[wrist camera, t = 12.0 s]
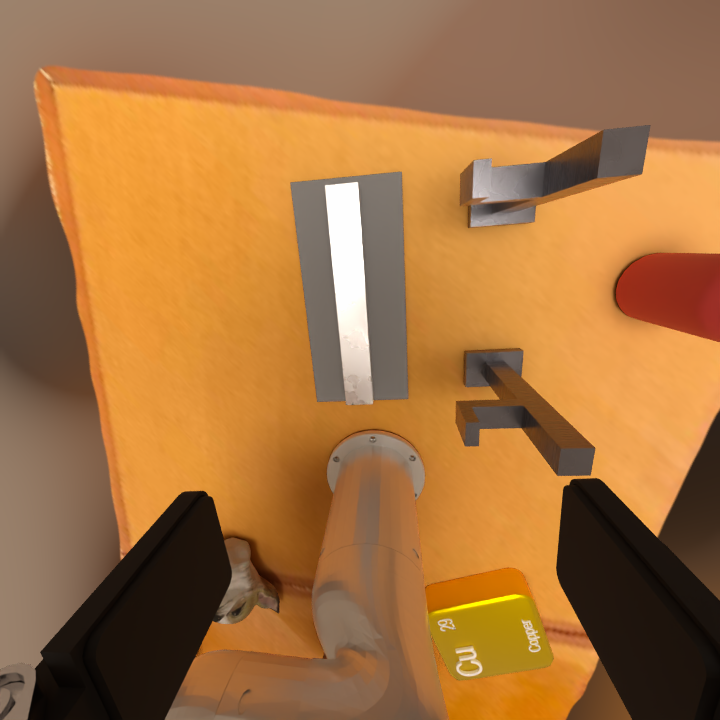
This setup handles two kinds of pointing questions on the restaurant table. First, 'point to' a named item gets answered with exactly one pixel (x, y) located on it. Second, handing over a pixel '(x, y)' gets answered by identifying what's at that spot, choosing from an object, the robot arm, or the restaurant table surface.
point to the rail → (351, 290)
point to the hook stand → (517, 205)
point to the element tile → (487, 625)
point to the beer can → (674, 292)
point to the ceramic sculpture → (244, 586)
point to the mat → (382, 283)
